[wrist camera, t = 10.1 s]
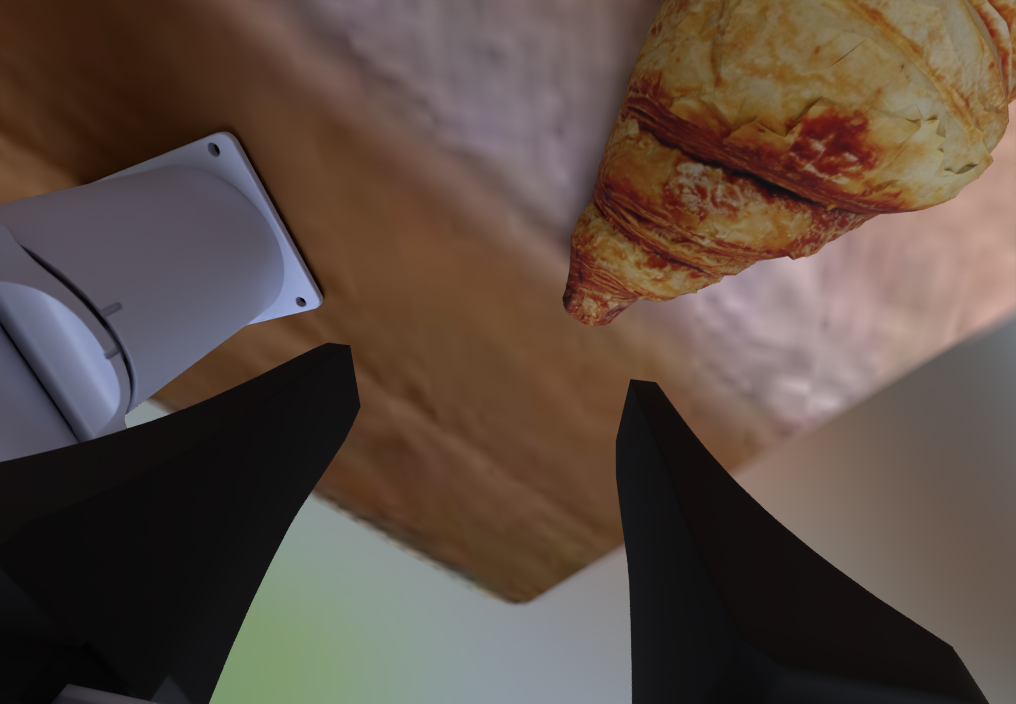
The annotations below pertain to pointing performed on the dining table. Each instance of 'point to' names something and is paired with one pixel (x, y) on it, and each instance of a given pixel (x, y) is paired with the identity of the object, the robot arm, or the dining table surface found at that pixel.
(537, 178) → the dining table surface
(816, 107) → the croissant
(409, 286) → the dining table surface
